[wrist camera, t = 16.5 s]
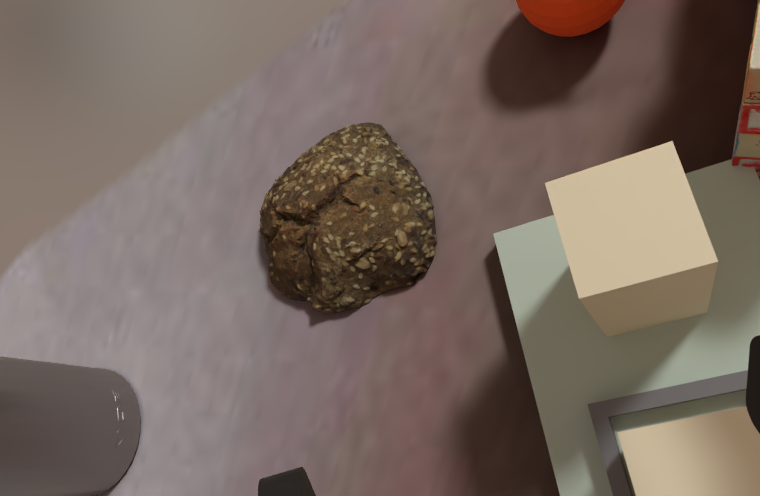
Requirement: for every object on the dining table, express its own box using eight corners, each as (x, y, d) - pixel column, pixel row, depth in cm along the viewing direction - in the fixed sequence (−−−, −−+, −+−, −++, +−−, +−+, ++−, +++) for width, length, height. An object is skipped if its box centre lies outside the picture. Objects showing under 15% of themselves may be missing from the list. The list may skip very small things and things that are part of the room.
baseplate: (592, 601, 33) (549, 683, 22) (499, 240, 40) (431, 166, 29) (914, 565, 29) (1060, 645, 18) (746, 164, 36) (775, 41, 25)
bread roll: (395, 110, 46) (365, 76, 42) (463, 261, 41) (437, 240, 37) (250, 196, 49) (208, 173, 45) (296, 346, 44) (254, 336, 40)
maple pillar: (668, 540, 31) (662, 586, 22) (635, 433, 33) (617, 432, 23) (783, 524, 30) (833, 565, 20) (742, 412, 31) (770, 401, 22)
